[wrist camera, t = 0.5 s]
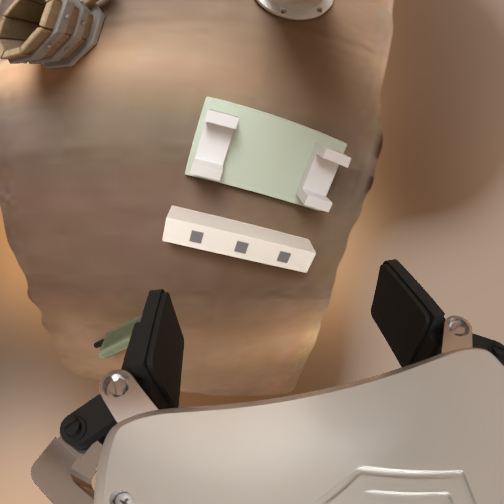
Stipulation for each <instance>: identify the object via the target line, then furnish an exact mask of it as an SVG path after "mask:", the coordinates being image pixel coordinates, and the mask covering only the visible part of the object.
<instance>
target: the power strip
mask: <svg viewBox="0 0 504 504" xmlns="http://www.w3.org/2000/svg"><path fill="white" fill-rule="evenodd" d="M162 241H166V242H170V243H175V244H179V245H183V246H188V247H192V248H196V249H201V250H205V251H210V252H214V253H219V254H223V255H228V256H232V257H237V258H241V259H246V260H250V261H255V262H259V263H264V264H268V265H273V266H277V267H282V268H286V269H291V270H296V271H300V272H305V273H307V271H308V269H309V267H310V265H311V263H312V261H313V259H314V257H315V255H316V252H315V250H314V248H313V246H312V245H311V243H310V241H309V239H306V238H302V237H298V236H294V235H291V234H287V233H283V232H279V231H275V230H271V229H267V228H263V227H259V226H256V225H252V224H248V223H244V222H240V221H235V220H231V219H227V218H223V217H219V216H215V215H211V214H207V213H202V212H198V211H194V210H190V209H185V208H181V207H177V206H171V209H170V211H169V213H168V215H167V217H166V223H165V228H164V234H163V240H162Z"/></svg>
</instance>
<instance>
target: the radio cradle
mask: <svg viewBox="0 0 504 504" xmlns="http://www.w3.org/2000/svg"><path fill="white" fill-rule="evenodd" d="M346 146H347V143H345V142H342V141H340V140H338V139H336V138H333V137H331V136H328V135H326V134H324V133H321V132H319V131H316V130H314V129H311V128H308V127H306V126H303V125H300V124H298V123H295V122H292V121H289V120H287V119H284V118H281V117H278V116H275V115H272V114H269V113H266V112H262V111H259V110H256V109H253V108H249V107H246V106H242V105H239V104H235V103H232V102H228V101H224V100H220V99H216V98H212V97H208V96H206V100H205V103H204V106H203V109H202V112H201V116H200V119H199V123H198V126H197V130H196V133H195V137H194V140H193V144H192V148H191V151H190V155H189V159H188V163H187V167H186V171H185V174H186V175H190V176H194V177H199V178H203V179H207V180H211V181H215V182H219V183H223V184H227V185H231V186H234V187H238V188H242V189H246V190H249V191H253V192H257V193H260V194H264V195H267V196H271V197H274V198H278V199H281V200H285V201H288V202H291V203H295V204H298V205H301V206H305V207H308V208H311V209H314V210H317V211H320V210H323V211H326V212H329V210H330V208H331V206H332V202H331V201H330V200H329V199H328V198H327V197H326V195H327V193H328V190H329V188H330V186H331V183H332V181H333V178H334V176H335V174H336V171H337V169H338V166H339V165H342V166H344V167H347V168H348V166H349V163H350V161H351V158H350V157H348V156H347V155H345V154H344V151H345V149H346Z"/></svg>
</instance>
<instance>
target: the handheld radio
mask: <svg viewBox="0 0 504 504" xmlns="http://www.w3.org/2000/svg"><path fill="white" fill-rule="evenodd" d="M141 317H142V315H140V316H138V317H136V318H134V319H132V320H130V321H129V322H127V323H125V324H123V325H121V326H119V327H117V328H116V329H114V330H112V331H110V332H108V333H107V334H106V336H105V338H104V339H102V340H100V341H98V342H96V343H94V347H95V348H98V347H100V346H101V349H100V352H99V353H100V354H99V355H98V356H99V357H100V358H101V359H103V358H108V357H110V356H112V355H114V354H117V353H119V352H121V351H123V350H126V349H127V347H128V344H129V341H130V337H131V334H132V331H133V327H134V325H135V323H136V322H140V320H141Z"/></svg>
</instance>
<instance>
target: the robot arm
mask: <svg viewBox="0 0 504 504" xmlns="http://www.w3.org/2000/svg"><path fill="white" fill-rule="evenodd" d="M256 1H257V2H258V3H259V4H260V5H261V6H262V7H263V8H265V9H266V10H267V11H269V12H271V13H273V14H274V15H277V16H279V17H282V18H286V19H290V20H308V19H313V18H316V17H318V16H320V15H322V14H323V13H325V12H326V11H327V10H328V9H329V8H330V7H331V5H332V4H333V1H334V0H256ZM317 10H318V11H319V12H318V11H317ZM281 12H284V14H282V13H281ZM371 314H372V317H373V319H374V321H375V322H376V324H377V325H378V327H379V329H380V330H381V332H382V334H383V335H384V337H385V339H386V341H387V342H388V344H389V346H390V347H391V349H392V351H393V353H394V354H395V356H396V358H397V360H398V361H399V363H400V365H401V367H402V368H399V369H396V370H393V371H390V372H387V373H383V374H380V375H377V376H373V377H370V378H366V379H363V380H359V381H355V382H352V383H348V384H344V385H340V386H336V387H331V388H327V389H323V390H318V391H313V392H308V393H303V394H297V395H292V396H286V397H280V398H273V399H266V400H259V401H251V402H243V403H232V404H222V405H210V406H197V407H196V406H195V407H181V408H178V406H179V395H180V382H181V371H182V360H183V350H184V338H183V335H182V332H181V329H180V326H179V323H178V320H177V317H176V314H175V311H174V308H173V304H172V301H171V298H170V295H169V293H168V292H165V291H164V290H163V289H161V290H151V291H150V292H149V295H148V298H147V301H146V304H145V307H144V310H143V314H142V317H141V320H140V322H136V323H135V325H134V327H133V331H132V334H131V337H130V341H129V344H128V347H127V351H126V354H125V358H124V362H123V365H122V369H121V370H119V369H118V370H113V371H111V372H109V373H107V374H106V375H105V376H104V377H103V378H102V379H101V381H100V384H99V391H100V394H99V395H98V396H96V397H94V398H93V399H92V400H90V401H89V402H87V403H86V404H84V405H83V406H81V407H80V408H78V409H77V410H76V411H74V412H73V413H71V414H70V415H68V416H67V417H66V418H65V419H64V420H63V421H62V423H61V427H60V434H61V436H60V437H59V438H58V439H57V438H56V437H55V438H54V439H53V440H52V442H51V443H50V444H49V445H48V447H47V448H46V449H45V450H44V451H43V453H42V454H41V455H40V456H39V458H38V459H37V460H36V461H35V463H34V464H33V466H32V468H31V476H32V479H33V481H34V482H35V484H36V485H37V486H38V487H39V488H40V489H41V491H42V492H43V493H44V494H45V495H46V496H47V497H48V498H49V500H50V501H51V502H52V503H53V504H504V345H502V344H501V343H499V342H497V341H494V340H491V339H488V338H485V337H482V336H479V335H476V334H473V333H472V327H471V325H470V323H469V322H468V321H467V320H466V319H464V318H462V317H460V316H450V317H448V318H447V319H445V318H444V314H445V313H444V312H443V311H442V310H441V308H440V307H439V306H438V305H437V304H436V302H435V301H434V300H433V299H432V298H431V297H430V296H429V294H428V293H427V292H426V291H425V290H424V289H423V288H422V287H421V285H420V284H419V283H418V282H417V281H416V280H415V279H414V278H413V276H412V275H411V274H410V273H409V272H408V271H407V270H406V269H405V268H404V267H403V266H402V265H401V264H400V263H399V262H398V261H397V260H396V259H394V260H388V261H385V262H384V263H383V265H381V266H380V271H379V276H378V281H377V286H376V290H375V295H374V300H373V304H372V308H371ZM97 466H98V467H97ZM96 468H97V470H95V469H96ZM96 472H97V475H96V483H95V491H94V490H93V488H92V485H91V480H92V478H93V476H94V474H95V473H96ZM129 493H130V494H129Z"/></svg>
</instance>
